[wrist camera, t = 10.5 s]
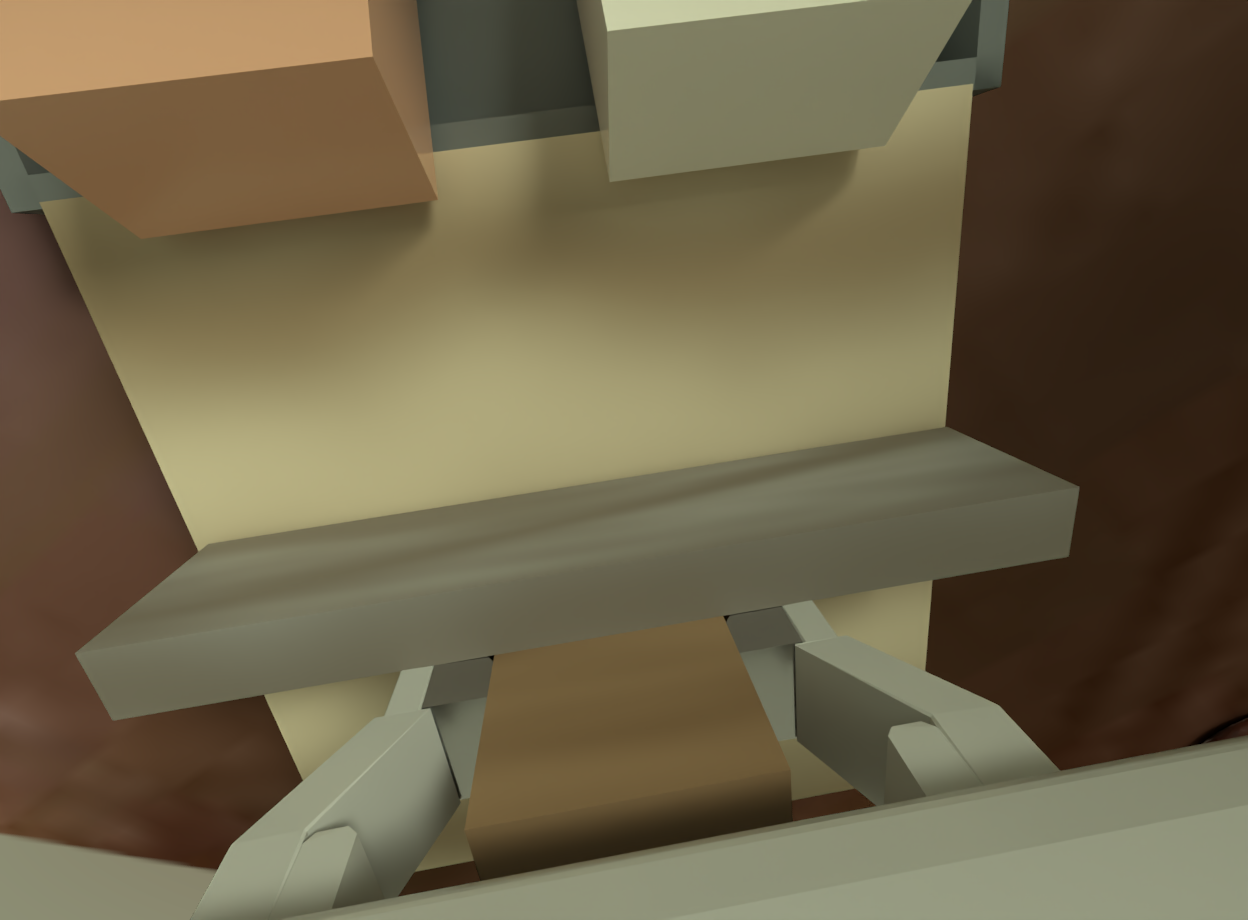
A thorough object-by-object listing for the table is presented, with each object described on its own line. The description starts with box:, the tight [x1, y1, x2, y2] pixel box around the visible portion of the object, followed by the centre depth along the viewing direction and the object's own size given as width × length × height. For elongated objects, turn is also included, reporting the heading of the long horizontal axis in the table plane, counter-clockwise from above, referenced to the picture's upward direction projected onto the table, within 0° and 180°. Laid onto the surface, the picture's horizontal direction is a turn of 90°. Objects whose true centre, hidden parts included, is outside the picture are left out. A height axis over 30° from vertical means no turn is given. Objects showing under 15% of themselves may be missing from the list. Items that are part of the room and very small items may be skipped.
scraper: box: [75, 427, 1080, 881], centre depth 9 cm, size 5×15×6 cm, turn 98°
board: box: [39, 84, 973, 872], centre depth 13 cm, size 16×15×2 cm
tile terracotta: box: [0, 0, 438, 239], centre depth 8 cm, size 4×4×2 cm
